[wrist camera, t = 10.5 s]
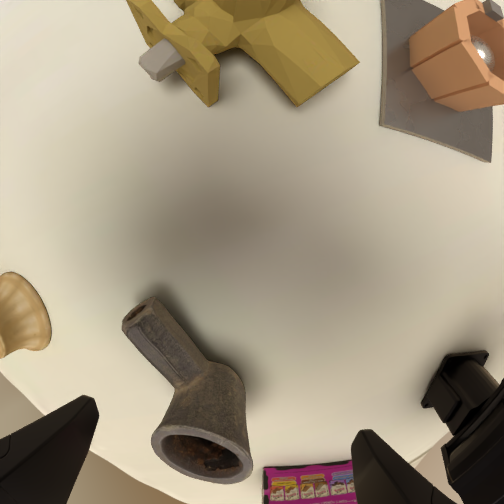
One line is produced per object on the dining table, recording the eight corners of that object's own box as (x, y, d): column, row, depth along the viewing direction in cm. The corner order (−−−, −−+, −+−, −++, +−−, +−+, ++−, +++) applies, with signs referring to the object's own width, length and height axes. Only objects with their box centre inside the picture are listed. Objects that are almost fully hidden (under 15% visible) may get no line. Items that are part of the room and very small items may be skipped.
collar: (477, 120, 15) (541, 114, 8) (410, 92, 15) (471, 66, 8) (473, 49, 13) (526, 27, 6) (407, 17, 13) (454, -24, 6)
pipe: (178, 277, 19) (135, 340, 12) (272, 399, 22) (275, 476, 15) (119, 313, 20) (66, 375, 13) (213, 420, 23) (201, 491, 16)
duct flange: (479, 36, 13) (519, 18, 7) (484, 162, 16) (535, 166, 11) (379, -11, 13) (408, -49, 7) (379, 125, 16) (424, 111, 11)
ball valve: (222, -28, 14) (110, 43, 14) (233, -121, 4) (49, -37, 4) (337, 79, 17) (225, 165, 18) (428, 18, 7) (239, 143, 8)
